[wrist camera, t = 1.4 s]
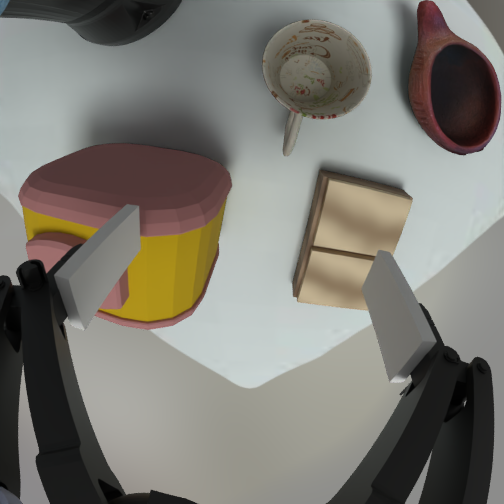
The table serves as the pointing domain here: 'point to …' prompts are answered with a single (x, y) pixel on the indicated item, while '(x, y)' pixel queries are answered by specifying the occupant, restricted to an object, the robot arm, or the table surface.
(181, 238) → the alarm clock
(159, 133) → the table surface
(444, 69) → the bowl
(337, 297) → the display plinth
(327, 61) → the mug
